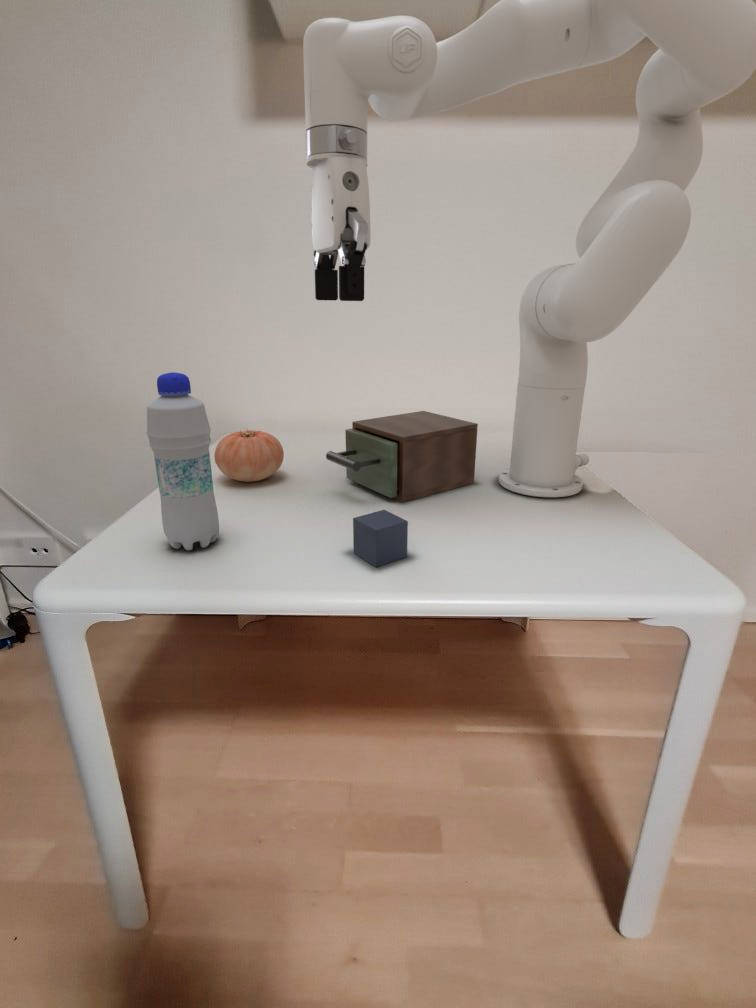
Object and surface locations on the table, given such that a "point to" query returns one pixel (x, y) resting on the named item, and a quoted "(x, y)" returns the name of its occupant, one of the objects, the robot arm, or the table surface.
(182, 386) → the bottle
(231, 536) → the table surface
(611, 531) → the table surface
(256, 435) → the orange pumpkin
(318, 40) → the robot arm
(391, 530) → the block
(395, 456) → the drawer
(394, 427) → the cabinet
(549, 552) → the table surface
